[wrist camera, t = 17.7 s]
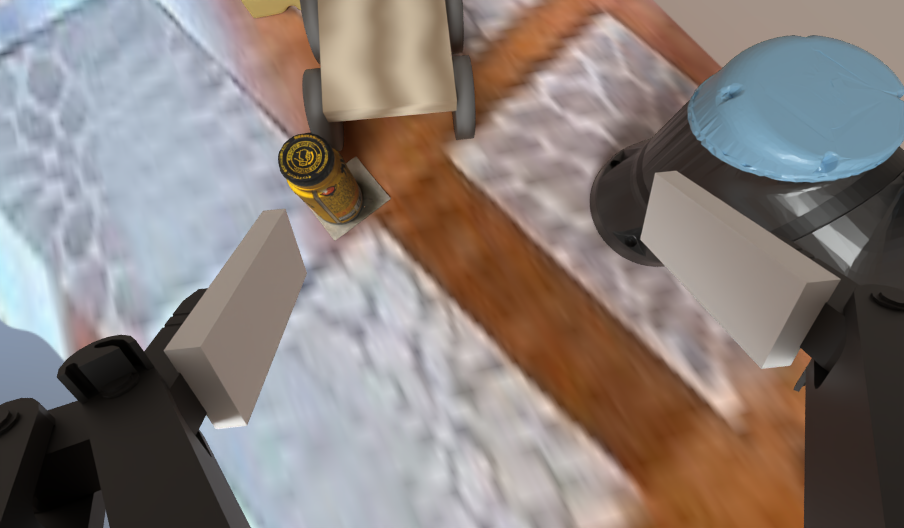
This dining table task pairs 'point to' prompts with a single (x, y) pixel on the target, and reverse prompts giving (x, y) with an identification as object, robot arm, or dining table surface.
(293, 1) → the cheese
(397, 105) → the trolley
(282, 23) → the dining table surface
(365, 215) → the condiment
